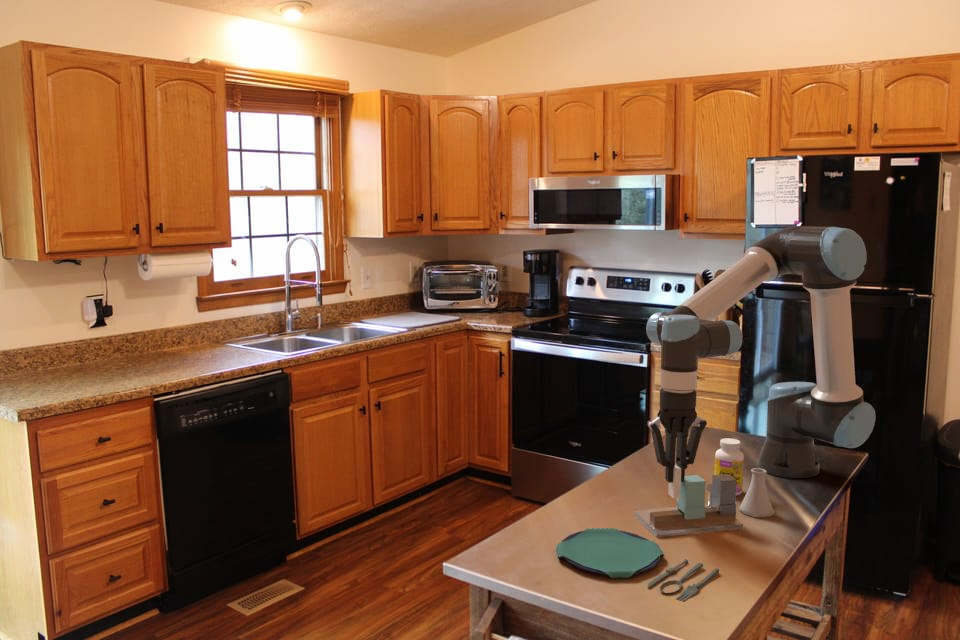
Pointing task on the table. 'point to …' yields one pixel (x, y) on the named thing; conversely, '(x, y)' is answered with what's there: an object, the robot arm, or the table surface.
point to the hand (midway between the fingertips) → (674, 495)
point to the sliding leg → (692, 497)
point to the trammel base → (684, 528)
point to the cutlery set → (621, 556)
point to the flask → (757, 496)
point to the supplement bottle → (730, 461)
